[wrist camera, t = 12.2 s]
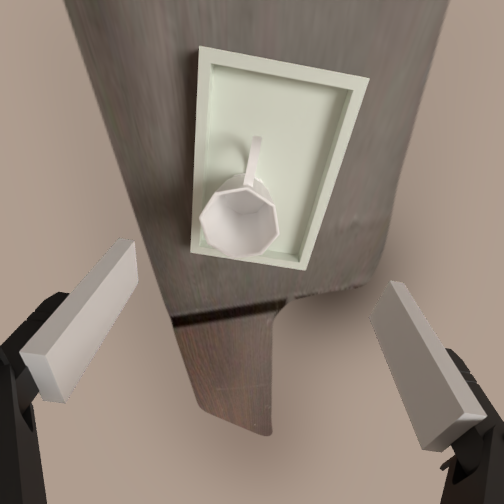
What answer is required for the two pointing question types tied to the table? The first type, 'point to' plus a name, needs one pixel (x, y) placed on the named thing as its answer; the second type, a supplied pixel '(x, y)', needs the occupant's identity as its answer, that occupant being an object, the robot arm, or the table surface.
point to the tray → (272, 142)
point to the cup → (241, 213)
